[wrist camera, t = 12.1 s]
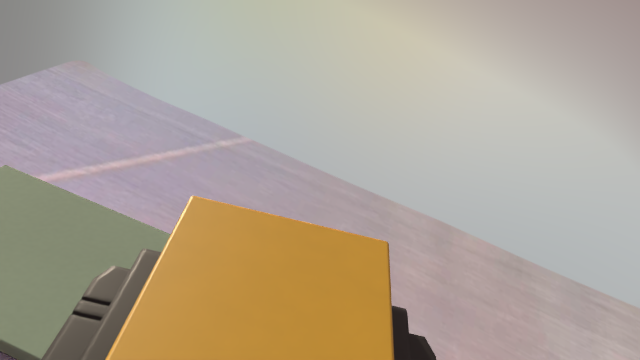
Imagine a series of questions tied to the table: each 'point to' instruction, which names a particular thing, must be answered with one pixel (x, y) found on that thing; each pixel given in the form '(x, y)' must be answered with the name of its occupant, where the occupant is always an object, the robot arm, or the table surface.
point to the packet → (261, 292)
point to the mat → (55, 257)
